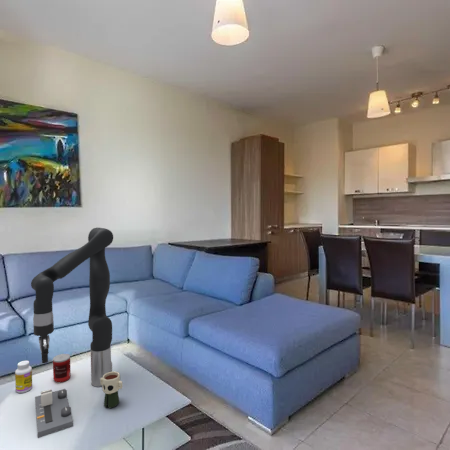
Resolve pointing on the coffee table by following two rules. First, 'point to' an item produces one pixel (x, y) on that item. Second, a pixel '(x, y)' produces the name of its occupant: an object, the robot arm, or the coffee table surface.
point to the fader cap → (46, 397)
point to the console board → (53, 414)
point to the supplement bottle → (23, 377)
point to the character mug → (111, 388)
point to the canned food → (61, 368)
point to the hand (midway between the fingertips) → (44, 361)
